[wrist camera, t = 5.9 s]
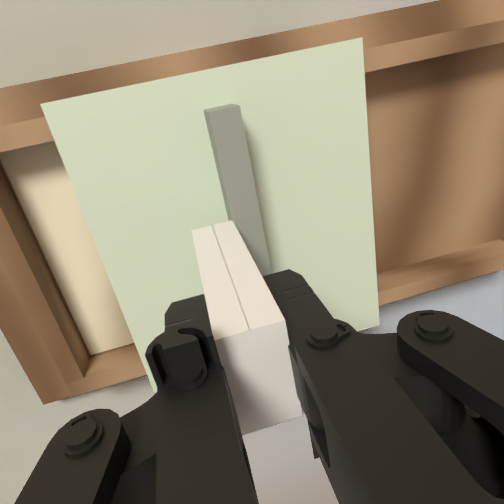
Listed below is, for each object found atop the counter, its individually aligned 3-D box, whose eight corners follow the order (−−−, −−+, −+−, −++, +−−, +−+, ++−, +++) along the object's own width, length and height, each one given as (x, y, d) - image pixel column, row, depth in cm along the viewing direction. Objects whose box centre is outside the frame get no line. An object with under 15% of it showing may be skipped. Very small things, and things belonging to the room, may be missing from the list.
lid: (154, 383, 18) (153, 420, 16) (45, 103, 13) (23, 105, 11) (373, 318, 19) (397, 344, 17) (354, 39, 14) (386, 31, 12)
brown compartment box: (48, 390, 20) (34, 430, 18) (-105, 111, 14) (-156, 115, 12) (491, 261, 23) (528, 280, 21) (513, -13, 17) (567, -29, 15)
